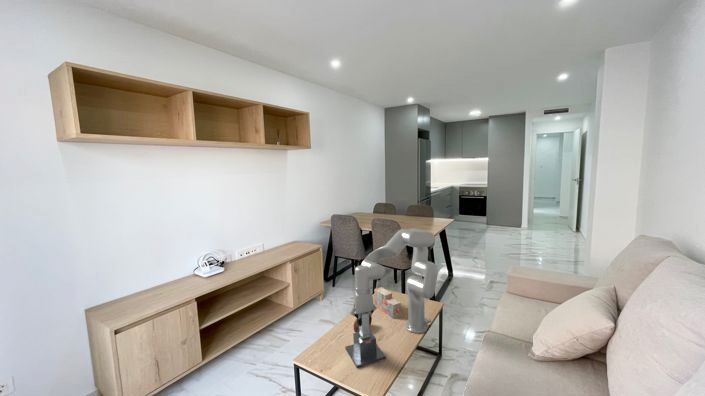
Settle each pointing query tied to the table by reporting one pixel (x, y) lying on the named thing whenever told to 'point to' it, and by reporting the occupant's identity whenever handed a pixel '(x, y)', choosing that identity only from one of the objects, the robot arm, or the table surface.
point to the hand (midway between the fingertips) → (364, 323)
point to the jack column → (364, 326)
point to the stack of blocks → (387, 302)
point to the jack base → (364, 351)
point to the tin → (356, 326)
